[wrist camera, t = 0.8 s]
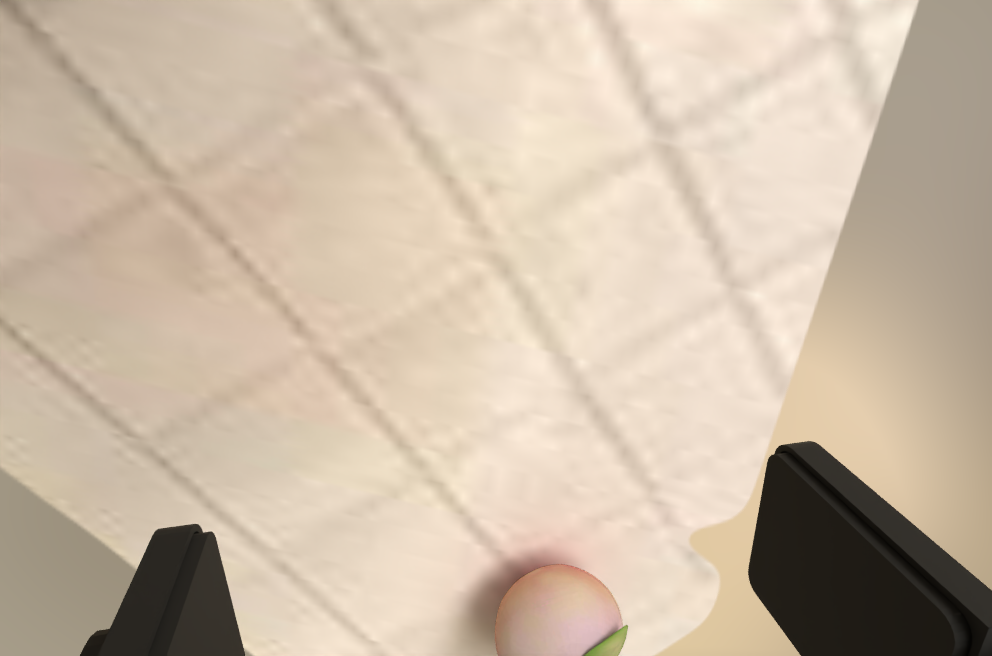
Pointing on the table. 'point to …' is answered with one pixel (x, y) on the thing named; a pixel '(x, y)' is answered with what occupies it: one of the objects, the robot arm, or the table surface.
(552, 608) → the decorative fruit
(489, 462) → the table surface
